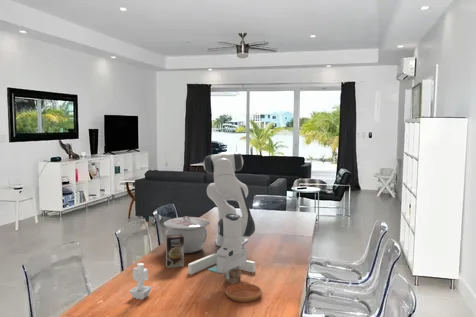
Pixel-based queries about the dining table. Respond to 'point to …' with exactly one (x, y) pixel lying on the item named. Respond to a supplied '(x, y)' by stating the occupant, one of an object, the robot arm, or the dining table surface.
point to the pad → (213, 269)
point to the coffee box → (174, 250)
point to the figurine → (140, 282)
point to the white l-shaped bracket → (212, 260)
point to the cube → (234, 276)
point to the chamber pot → (189, 231)
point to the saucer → (243, 292)
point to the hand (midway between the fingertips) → (232, 276)
